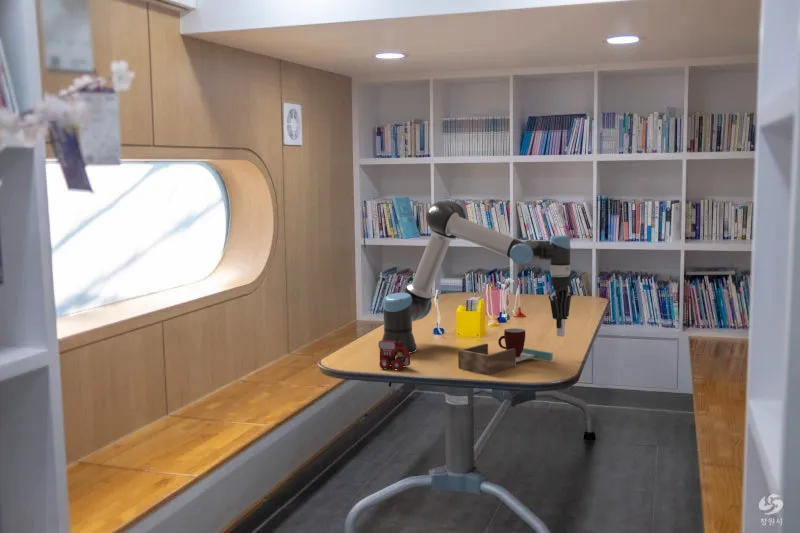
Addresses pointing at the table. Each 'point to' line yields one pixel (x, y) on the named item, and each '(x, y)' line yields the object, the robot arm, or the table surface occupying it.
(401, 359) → the toy fire truck
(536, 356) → the tray
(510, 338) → the mug
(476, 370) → the box
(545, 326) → the table surface
